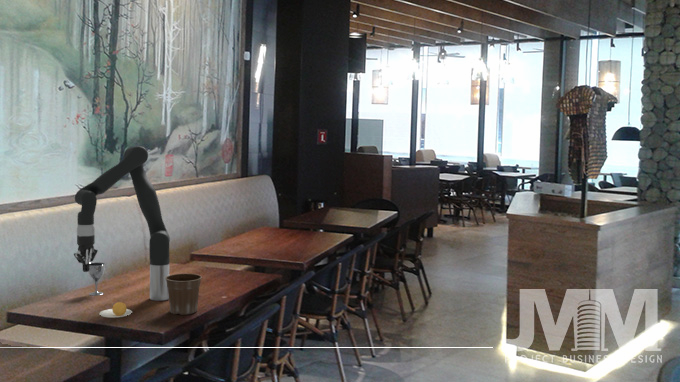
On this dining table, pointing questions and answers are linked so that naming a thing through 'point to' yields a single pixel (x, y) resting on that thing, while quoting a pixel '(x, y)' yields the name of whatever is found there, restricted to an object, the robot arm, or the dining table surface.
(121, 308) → the ball
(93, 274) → the wine glass
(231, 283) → the dining table surface
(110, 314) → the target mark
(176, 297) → the plant pot
